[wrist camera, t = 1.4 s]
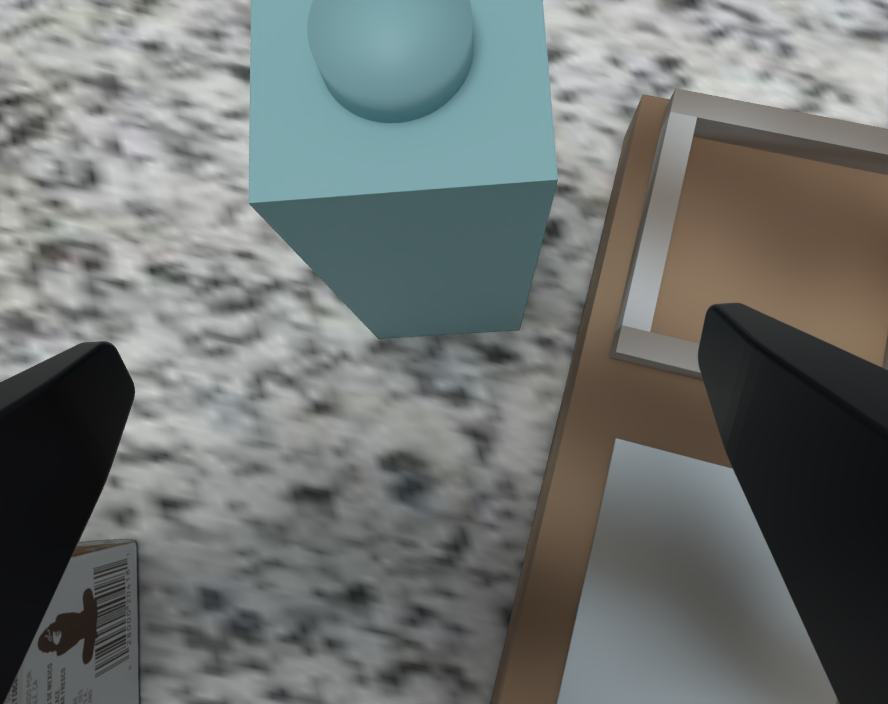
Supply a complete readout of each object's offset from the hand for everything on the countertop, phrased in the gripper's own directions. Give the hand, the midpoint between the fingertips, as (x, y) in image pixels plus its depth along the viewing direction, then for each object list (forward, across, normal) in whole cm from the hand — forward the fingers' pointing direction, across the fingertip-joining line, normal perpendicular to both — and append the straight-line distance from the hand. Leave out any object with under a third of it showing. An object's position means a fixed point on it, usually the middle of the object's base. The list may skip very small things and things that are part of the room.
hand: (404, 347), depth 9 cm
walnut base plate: (+7, -8, +10) cm, 14 cm away
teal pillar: (+12, 0, +5) cm, 13 cm away
